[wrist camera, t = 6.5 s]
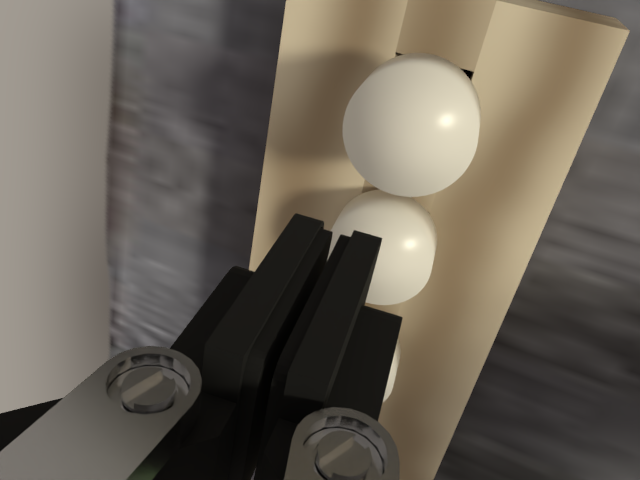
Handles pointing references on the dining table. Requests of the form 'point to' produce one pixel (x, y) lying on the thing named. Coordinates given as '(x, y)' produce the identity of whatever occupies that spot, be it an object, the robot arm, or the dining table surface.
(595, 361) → the dining table surface
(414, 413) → the board
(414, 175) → the off-white oval piece
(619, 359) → the dining table surface
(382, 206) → the white egg
